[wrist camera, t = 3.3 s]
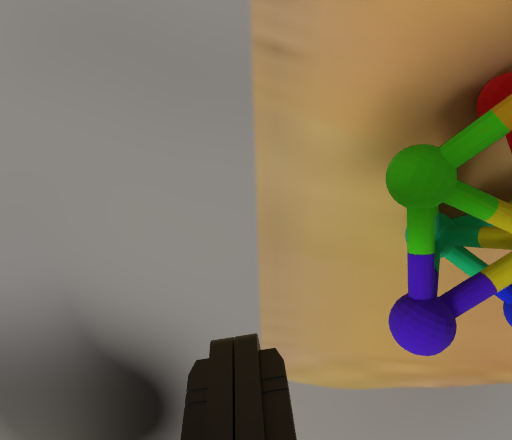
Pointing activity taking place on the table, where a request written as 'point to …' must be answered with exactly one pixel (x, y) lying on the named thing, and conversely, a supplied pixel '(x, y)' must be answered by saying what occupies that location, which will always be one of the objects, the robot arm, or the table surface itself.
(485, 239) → the decorative model
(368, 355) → the table surface
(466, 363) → the table surface
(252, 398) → the robot arm
